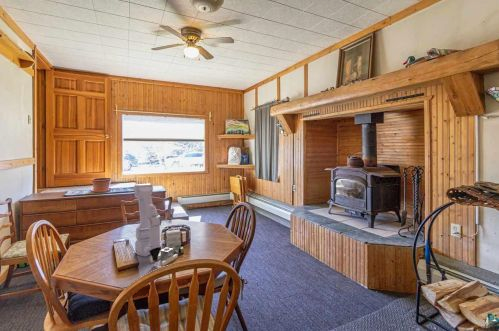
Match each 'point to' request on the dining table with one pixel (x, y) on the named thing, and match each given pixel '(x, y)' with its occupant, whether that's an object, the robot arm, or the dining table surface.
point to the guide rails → (166, 259)
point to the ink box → (173, 238)
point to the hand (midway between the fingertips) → (155, 260)
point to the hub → (166, 253)
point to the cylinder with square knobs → (178, 250)
